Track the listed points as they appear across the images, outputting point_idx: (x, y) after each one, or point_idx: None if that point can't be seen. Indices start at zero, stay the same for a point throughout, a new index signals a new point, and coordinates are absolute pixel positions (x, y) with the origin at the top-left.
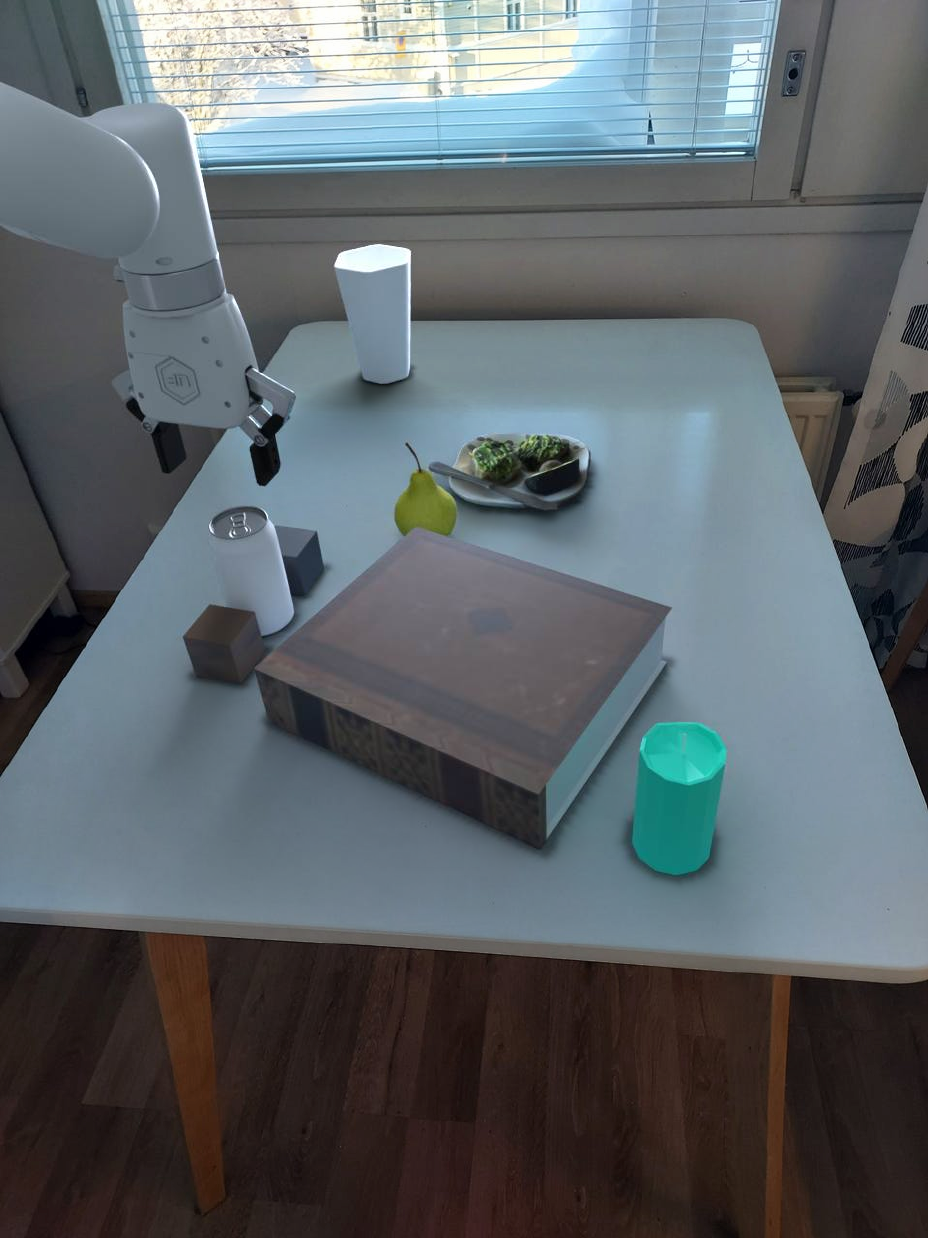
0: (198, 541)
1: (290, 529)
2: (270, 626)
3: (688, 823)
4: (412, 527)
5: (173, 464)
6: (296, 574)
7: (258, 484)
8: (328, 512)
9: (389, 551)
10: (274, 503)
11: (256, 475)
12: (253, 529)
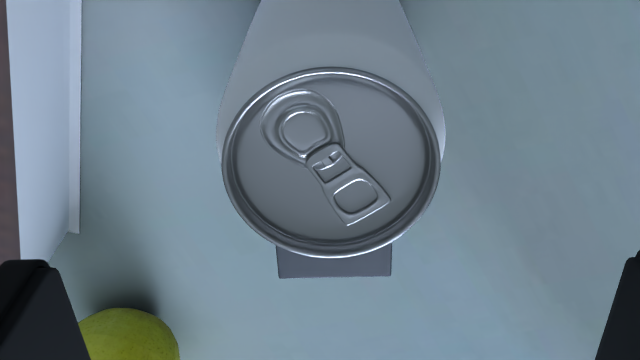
0: (606, 230)
1: (344, 269)
2: None
3: None
4: (101, 333)
5: (631, 311)
6: None
7: (35, 261)
8: (367, 354)
9: (14, 235)
10: (488, 357)
11: (5, 302)
12: (261, 152)
